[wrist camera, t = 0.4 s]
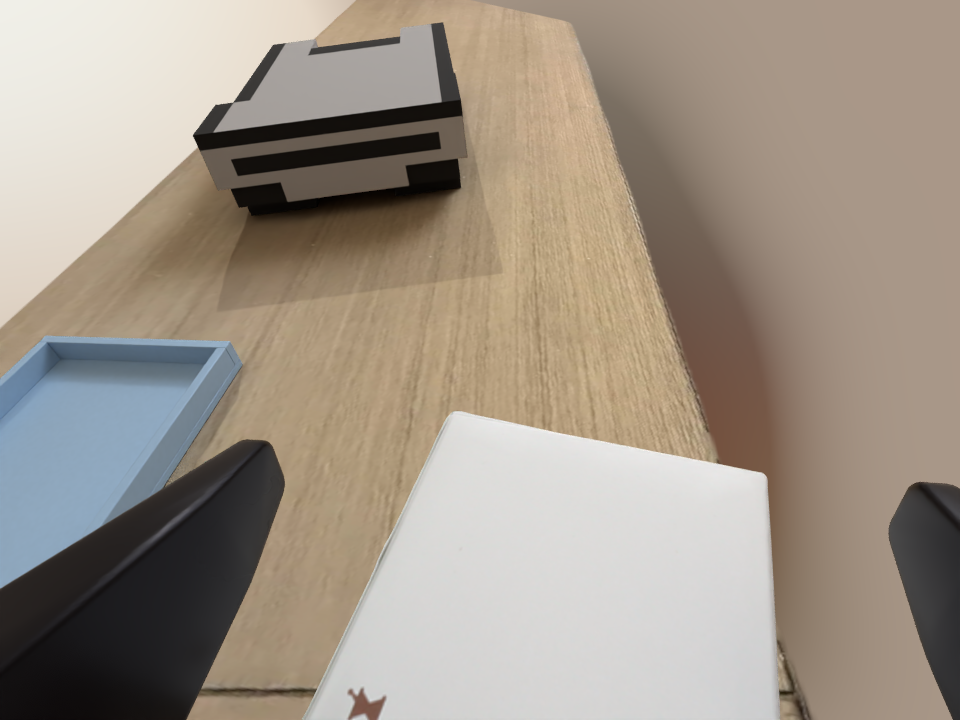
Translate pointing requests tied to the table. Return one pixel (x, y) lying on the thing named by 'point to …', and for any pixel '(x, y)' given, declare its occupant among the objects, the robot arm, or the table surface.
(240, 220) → the table surface
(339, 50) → the game console
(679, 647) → the white packaging box
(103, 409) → the tray
